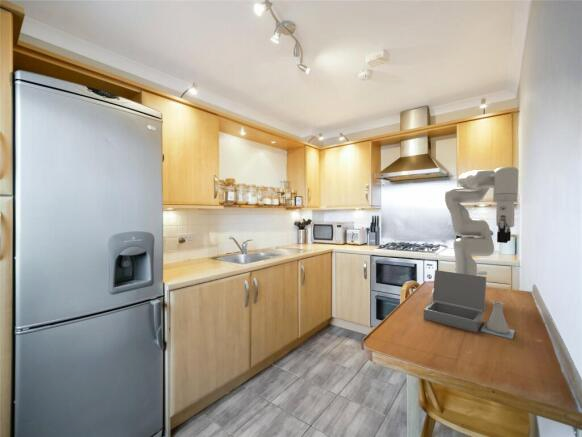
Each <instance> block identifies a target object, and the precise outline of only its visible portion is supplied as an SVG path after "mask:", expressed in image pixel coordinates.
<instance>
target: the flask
mask: <svg viewBox="0 0 582 437" xmlns="http://www.w3.org/2000/svg"><path fill="white" fill-rule="evenodd" d="M492 304H493V305H492V306H493V308H492V310H491V311H492V312H491V314H490V316H489V318H488V320H487V323H486V326H485V327H486V328H487V329H488V330H491V331H494V332H498V333H504V334H507V333H509V332H510V331H509V329H510V328H509V326H508V323H507V321H506V318H505V316H504V312H503V307H504V303H503V302H499V301H492Z"/></svg>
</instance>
